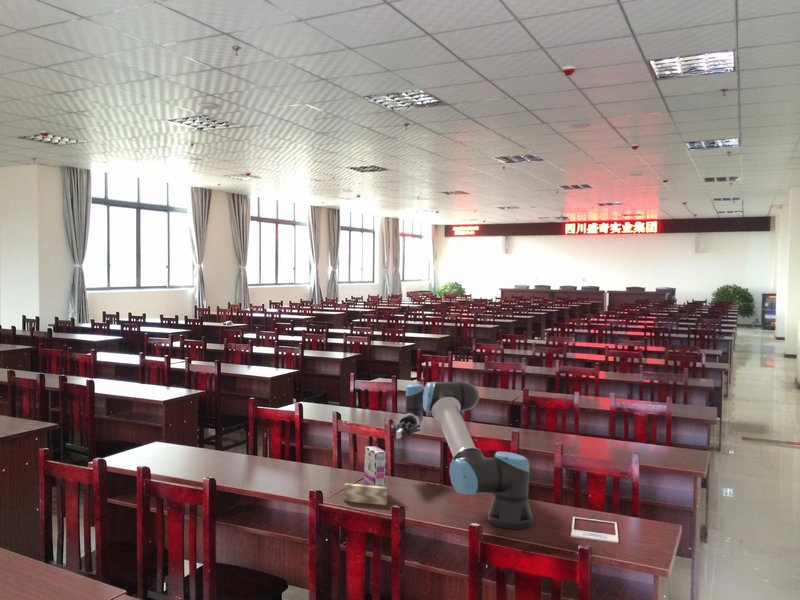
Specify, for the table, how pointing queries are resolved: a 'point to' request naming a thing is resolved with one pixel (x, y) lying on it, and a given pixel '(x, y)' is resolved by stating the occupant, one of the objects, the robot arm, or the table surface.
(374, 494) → the board
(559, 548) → the table surface
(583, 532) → the photo frame
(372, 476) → the candy bar box
